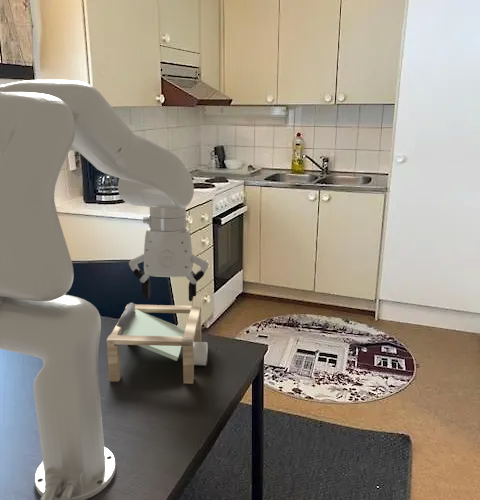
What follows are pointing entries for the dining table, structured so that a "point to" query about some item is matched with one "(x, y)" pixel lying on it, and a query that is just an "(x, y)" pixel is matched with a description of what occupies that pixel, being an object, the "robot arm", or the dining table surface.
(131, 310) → the trapdoor
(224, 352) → the dining table surface
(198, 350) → the stone
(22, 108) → the robot arm
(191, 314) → the trapdoor frame
